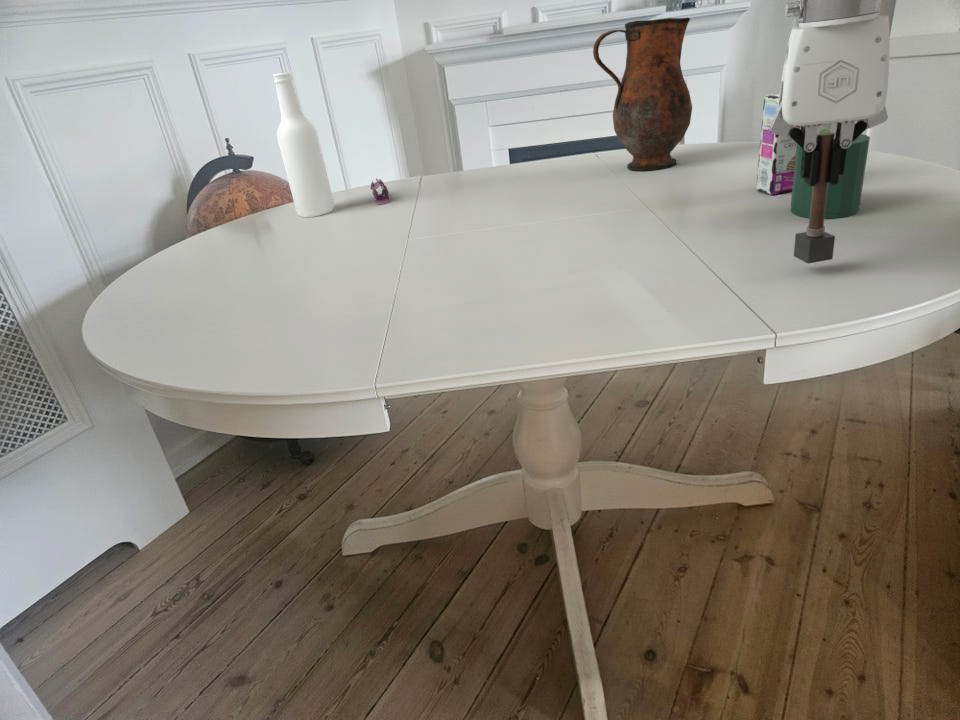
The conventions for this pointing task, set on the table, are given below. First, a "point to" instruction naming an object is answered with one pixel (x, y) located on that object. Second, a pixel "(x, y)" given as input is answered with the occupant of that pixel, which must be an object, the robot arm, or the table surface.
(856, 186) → the cup
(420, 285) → the table surface
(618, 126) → the pitcher
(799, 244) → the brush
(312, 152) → the alcohol
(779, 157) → the candy bar box
